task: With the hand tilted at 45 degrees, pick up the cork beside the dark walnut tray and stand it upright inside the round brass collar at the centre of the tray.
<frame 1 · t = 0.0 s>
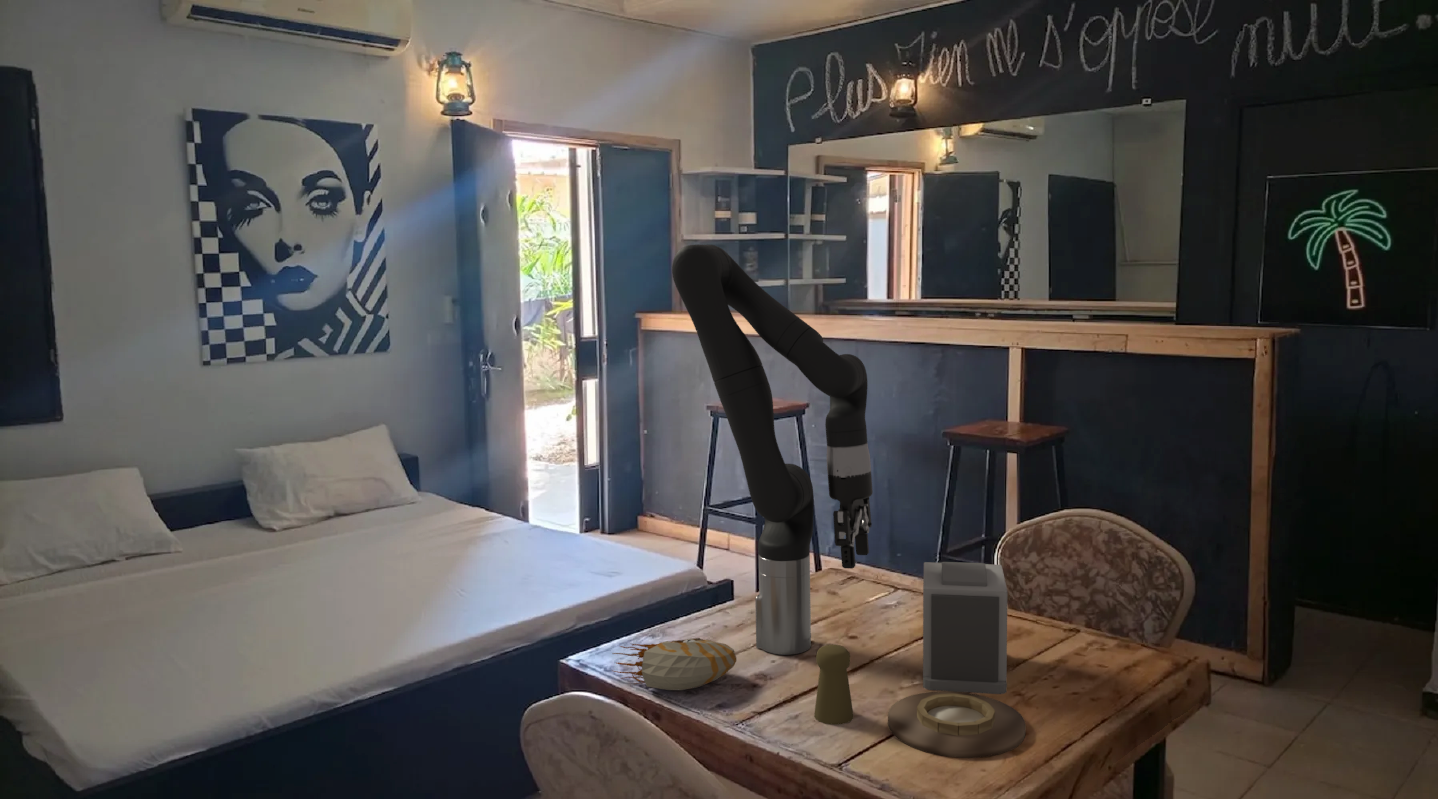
hand: (855, 561, 181), 17 cm above the table, fingers open, 8 cm apart
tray: (955, 726, 154), on the table
nautilus: (672, 684, 173), on the table
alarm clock: (963, 671, 176), on the table
cork: (833, 717, 159), on the table
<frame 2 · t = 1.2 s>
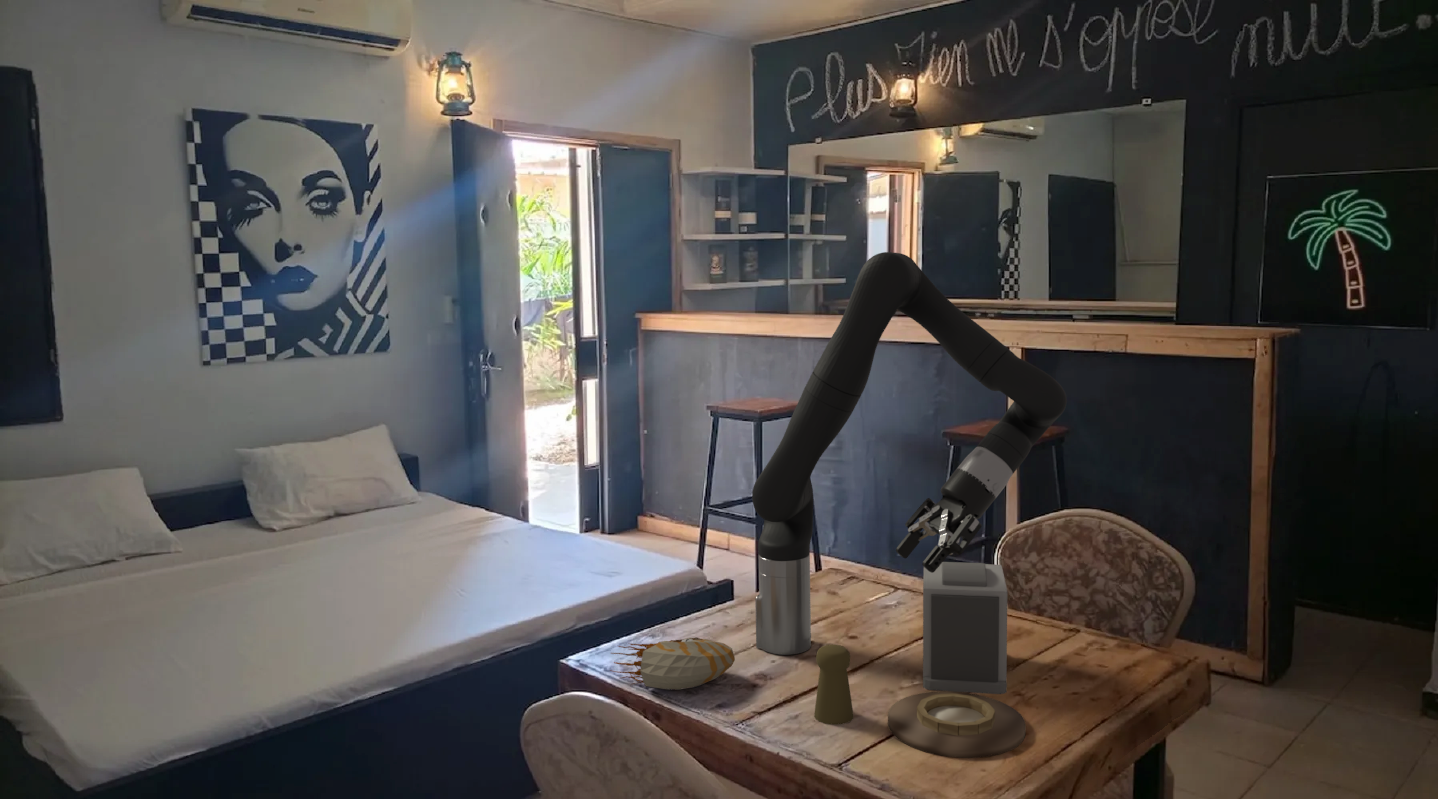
hand: (913, 561, 161), 23 cm above the table, fingers open, 8 cm apart
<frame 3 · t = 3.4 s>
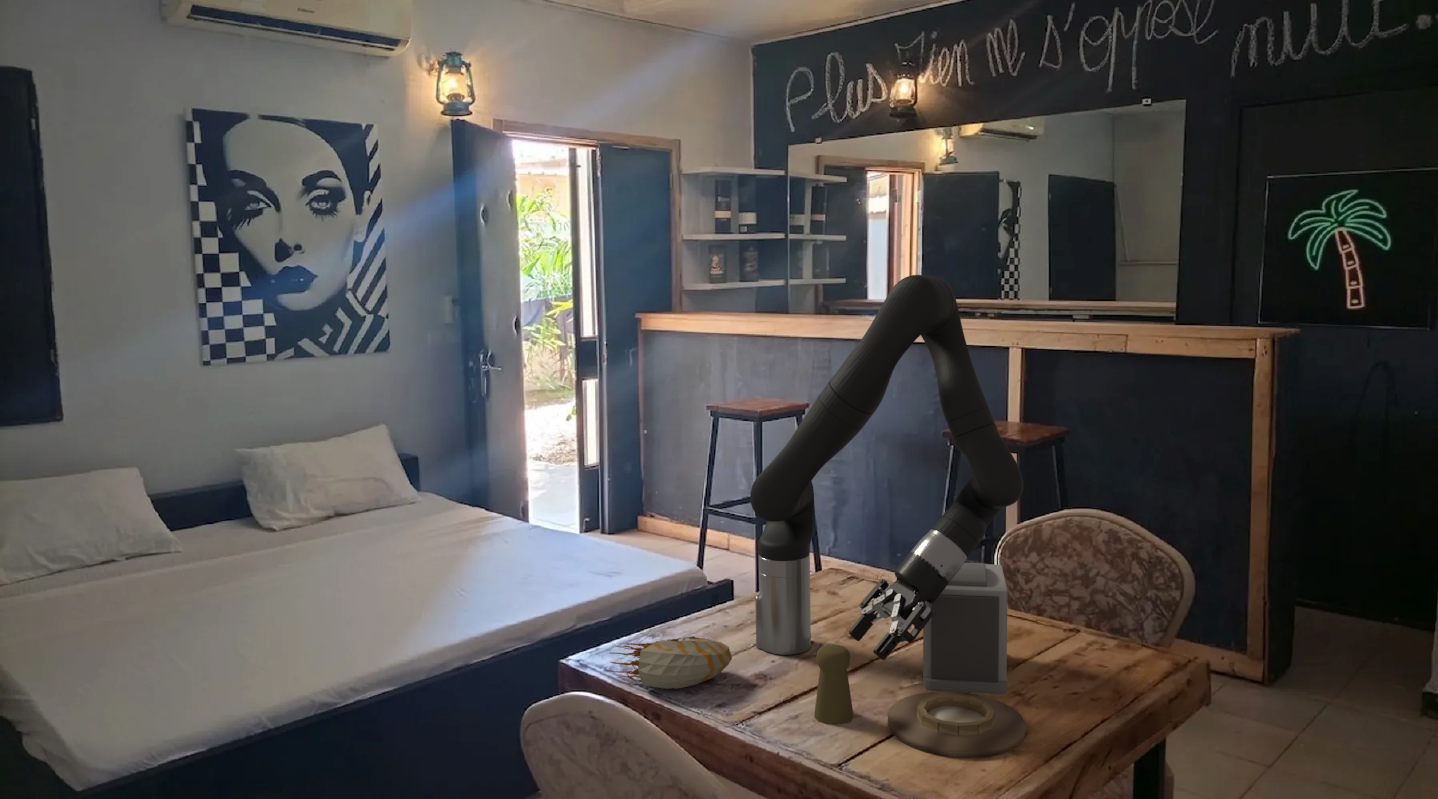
hand: (865, 646, 159), 10 cm above the table, fingers open, 8 cm apart
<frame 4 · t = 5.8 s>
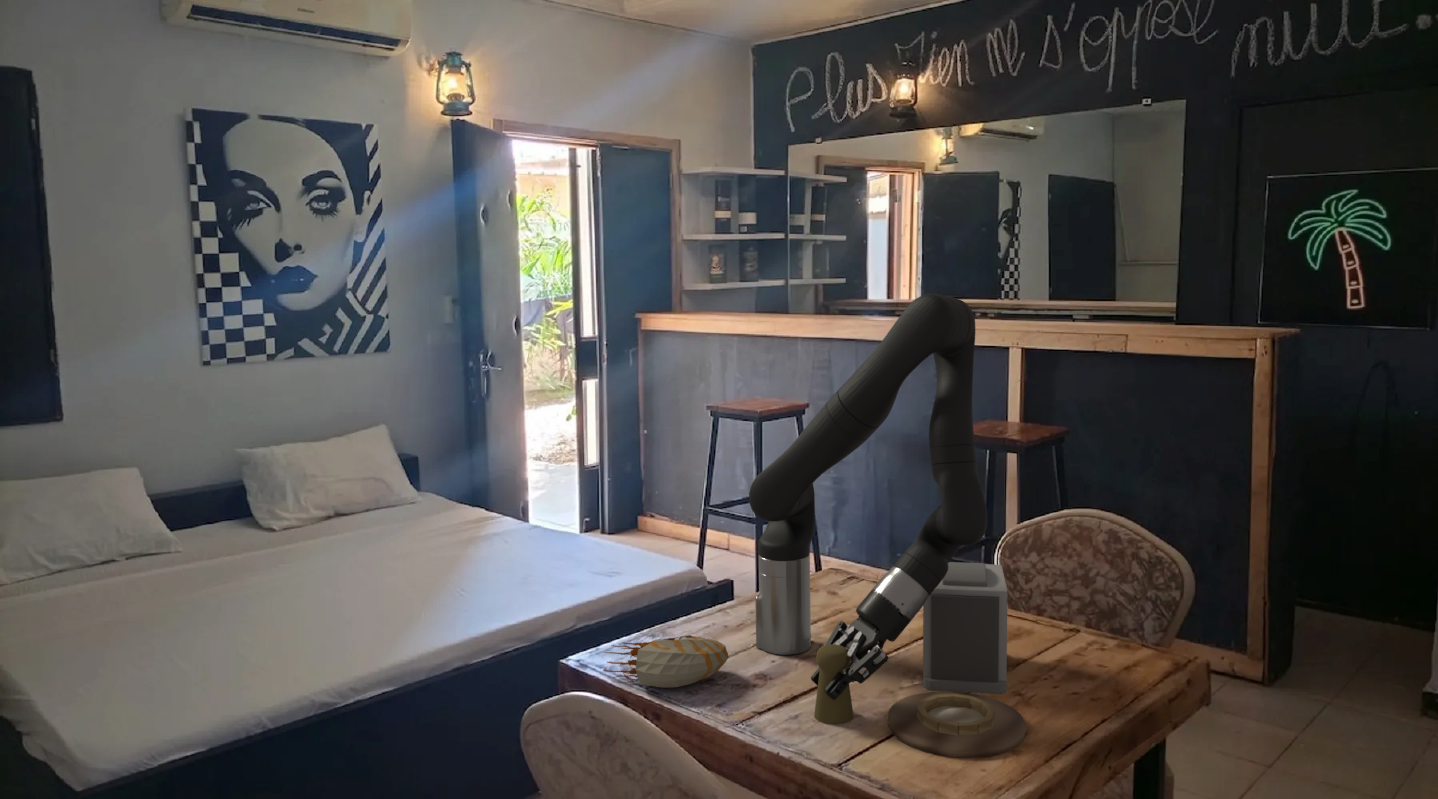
hand: (822, 689, 158), 5 cm above the table, fingers closed on cork, 4 cm apart
cork: (833, 717, 159), on the table, touching gripper
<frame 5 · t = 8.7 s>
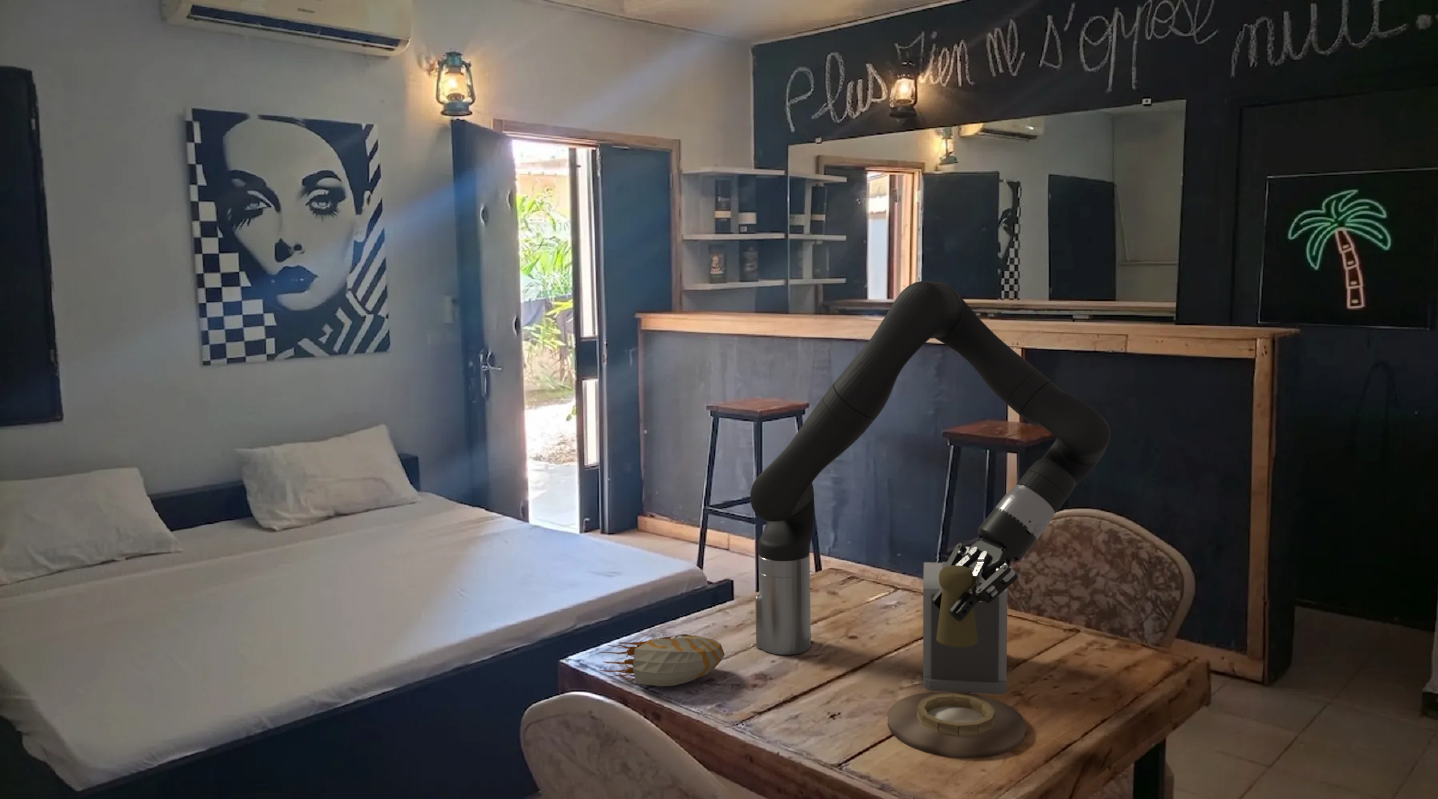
hand: (945, 611, 152), 18 cm above the table, fingers closed on cork, 4 cm apart
cork: (957, 641, 153), point 13 cm above the table, touching gripper
when the fingers open (7 cm above the table, at t = 11.8 s): cork stays where it is, resting on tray.
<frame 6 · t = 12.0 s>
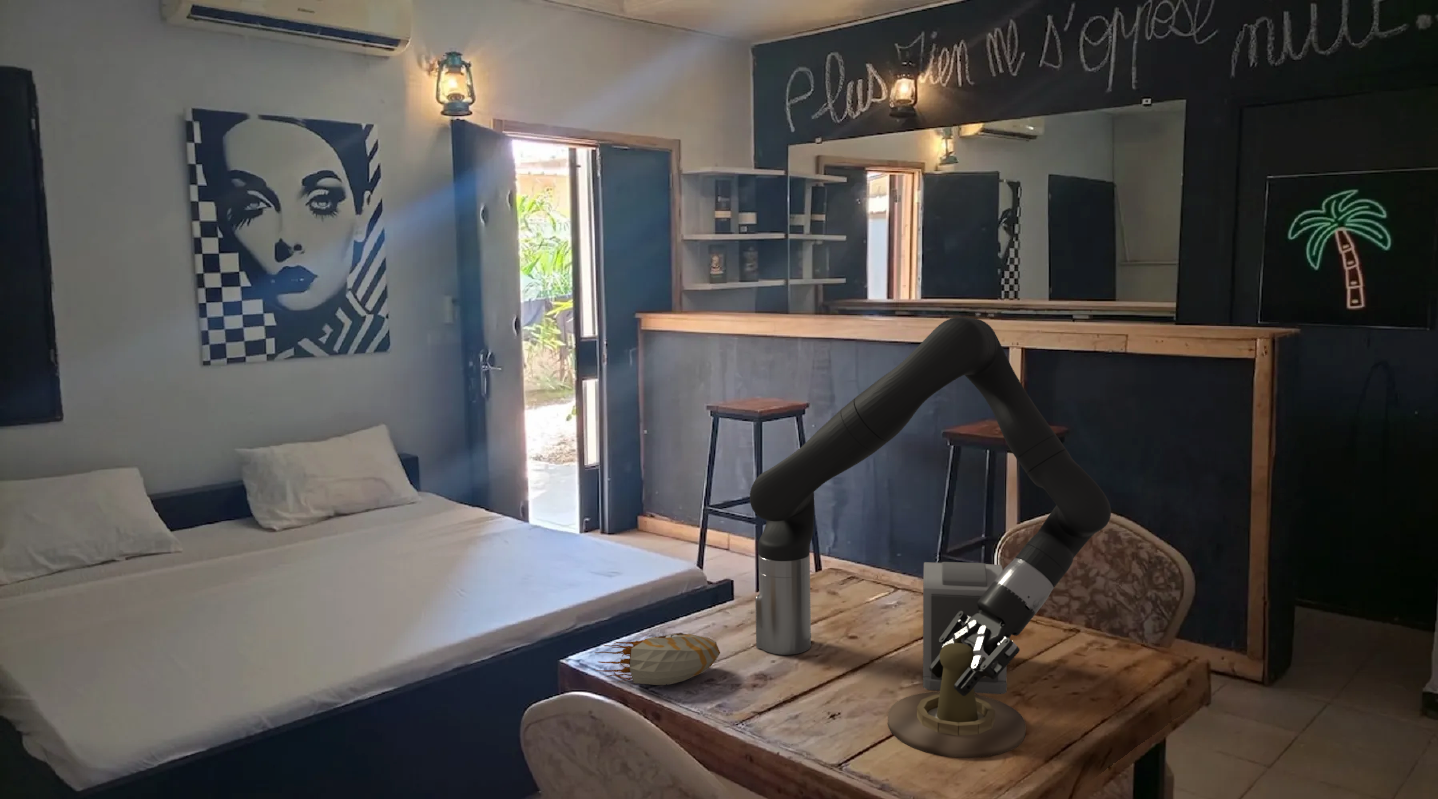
hand: (946, 682, 153), 7 cm above the table, fingers open, 6 cm apart
cork: (957, 717, 155), point 1 cm above the table, touching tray
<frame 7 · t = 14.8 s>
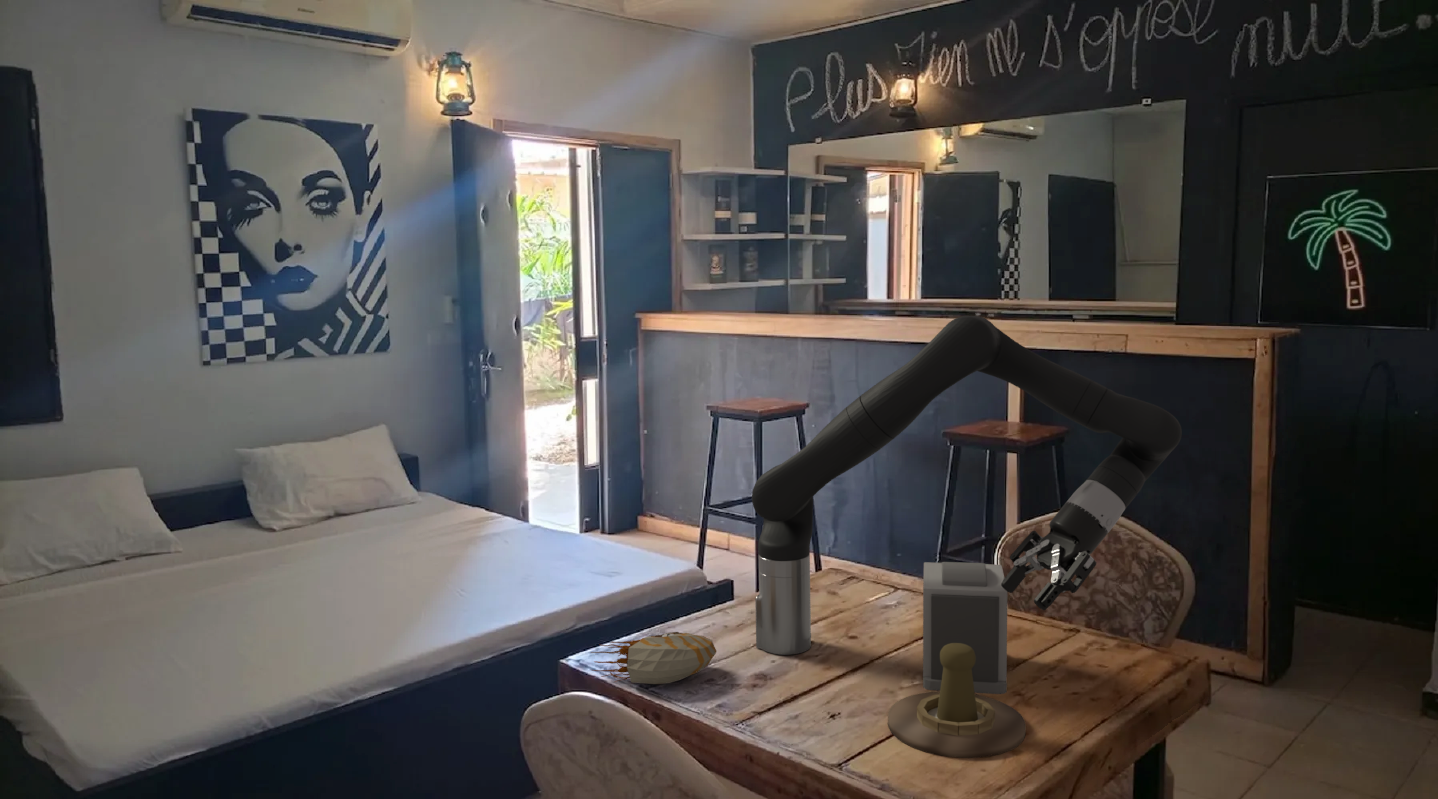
hand: (1021, 597, 156), 18 cm above the table, fingers open, 8 cm apart
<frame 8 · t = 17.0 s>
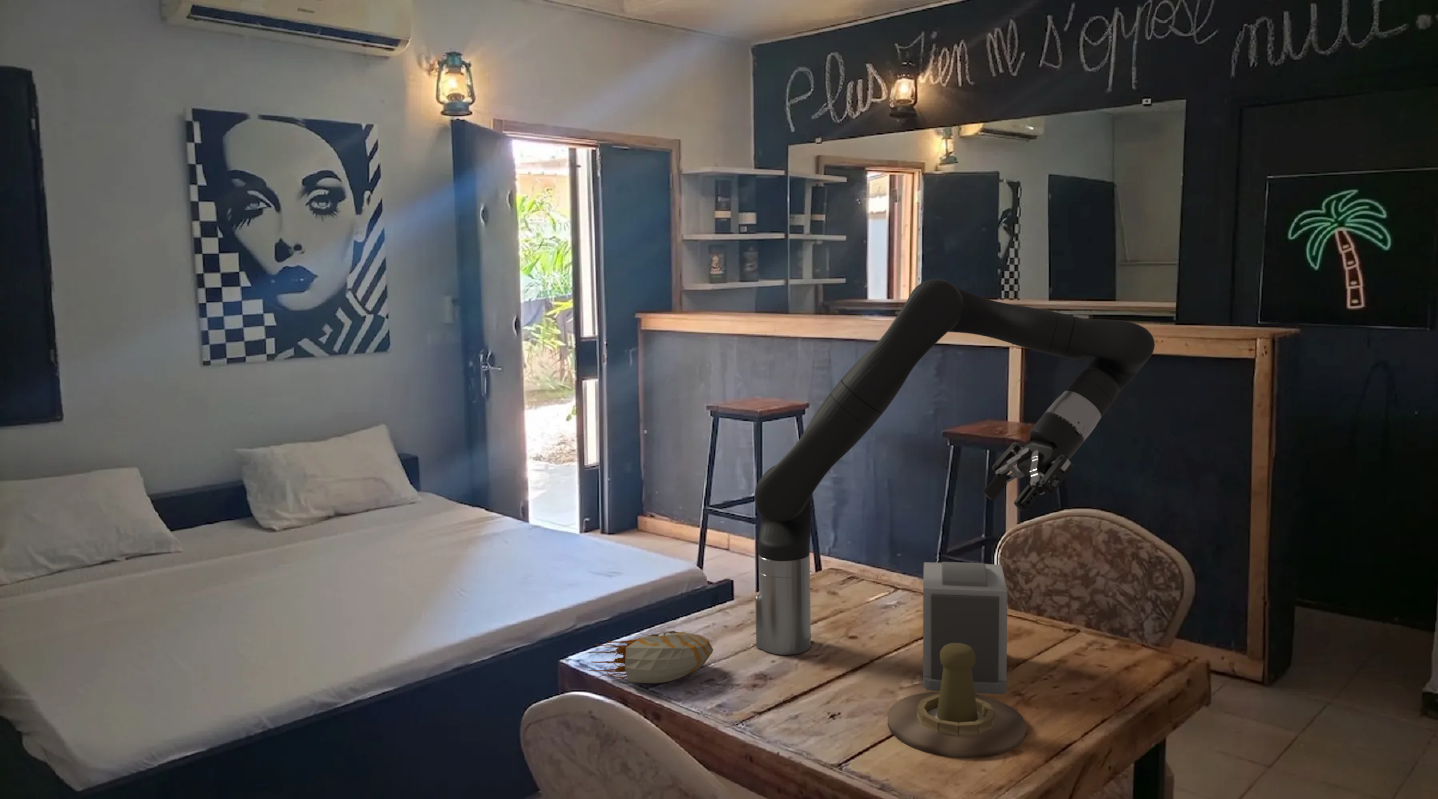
hand: (1002, 502, 164), 31 cm above the table, fingers open, 8 cm apart
at the end: cork 0.5 cm off-centre on the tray, point 1.1 cm above the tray's base; cork tilted 0°; the gripper is holding nothing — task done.
